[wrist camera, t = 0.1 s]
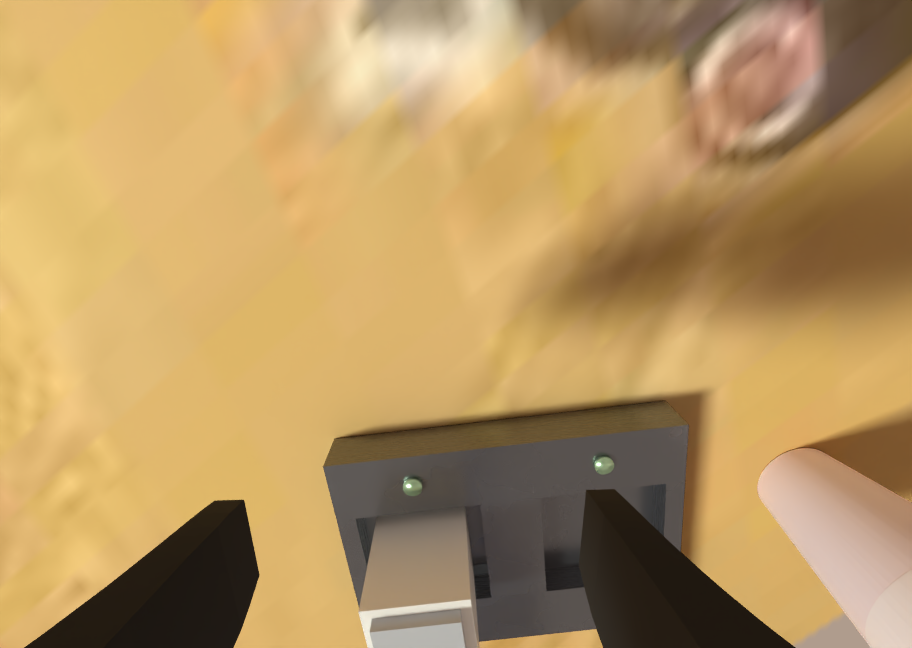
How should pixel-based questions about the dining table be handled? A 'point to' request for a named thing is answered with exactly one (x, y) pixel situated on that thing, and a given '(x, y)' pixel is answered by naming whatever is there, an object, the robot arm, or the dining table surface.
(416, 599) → the beige rectangular block
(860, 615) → the smoothie
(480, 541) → the panel
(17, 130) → the dining table surface
